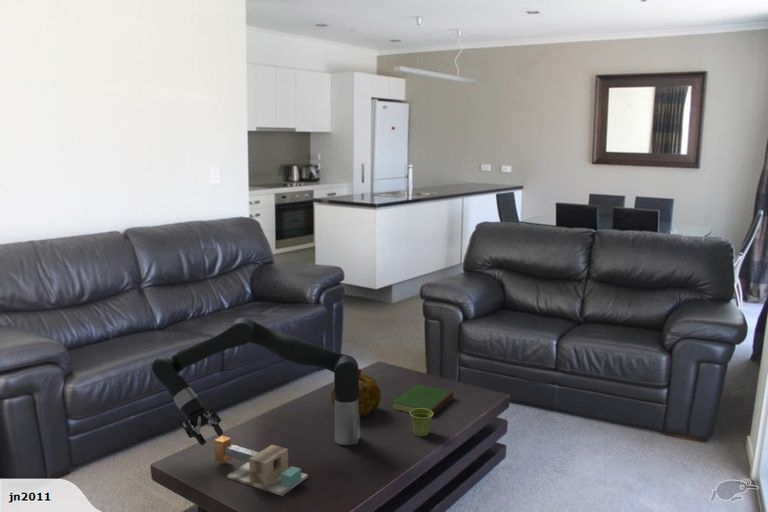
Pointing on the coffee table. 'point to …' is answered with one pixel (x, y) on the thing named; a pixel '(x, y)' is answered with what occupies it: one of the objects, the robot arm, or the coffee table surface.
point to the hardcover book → (423, 399)
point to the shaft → (231, 451)
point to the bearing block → (268, 464)
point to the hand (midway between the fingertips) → (212, 439)
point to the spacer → (291, 476)
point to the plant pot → (421, 421)
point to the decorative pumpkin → (365, 394)
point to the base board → (275, 487)
